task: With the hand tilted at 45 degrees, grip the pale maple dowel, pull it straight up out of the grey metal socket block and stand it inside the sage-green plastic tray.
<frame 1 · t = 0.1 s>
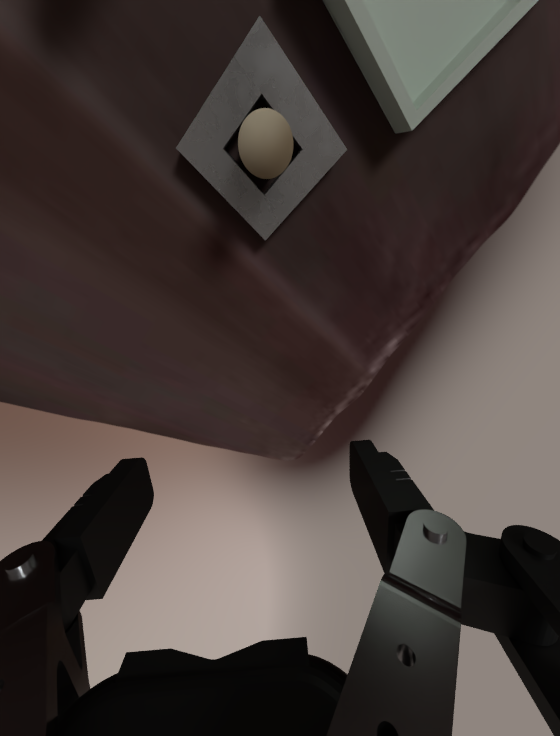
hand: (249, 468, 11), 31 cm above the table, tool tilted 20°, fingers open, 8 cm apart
dowel: (263, 147, 25), in the socket block
socket block: (262, 149, 30), on the table
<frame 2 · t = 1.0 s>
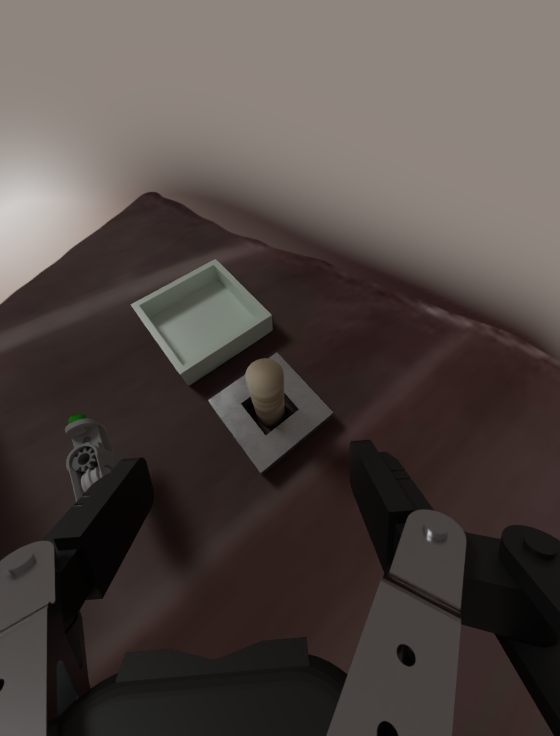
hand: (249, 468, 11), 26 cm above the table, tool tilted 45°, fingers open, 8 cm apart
tray: (206, 325, 47), on the table
mechanical component: (132, 472, 36), on the table
dowel: (268, 396, 34), in the socket block
socket block: (270, 412, 40), on the table
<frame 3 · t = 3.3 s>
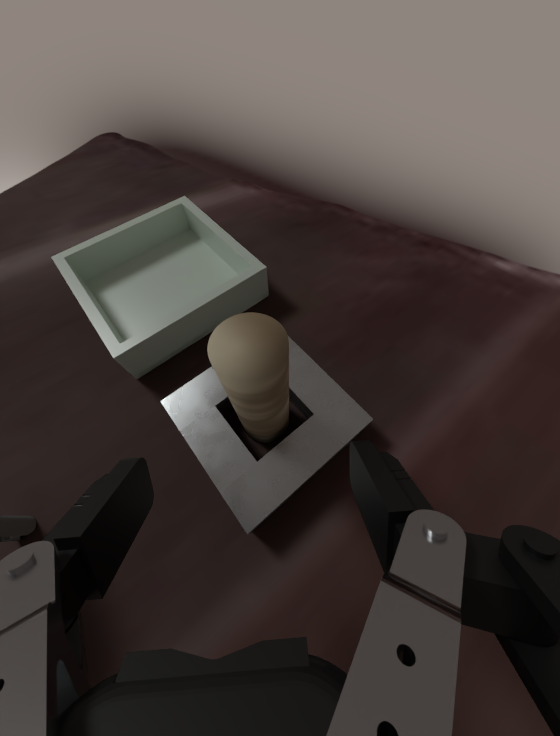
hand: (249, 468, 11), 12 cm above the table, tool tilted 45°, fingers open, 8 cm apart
tray: (170, 290, 32), on the table
mechanical component: (27, 528, 21), on the table
dowel: (259, 392, 19), in the socket block
socket block: (266, 419, 24), on the table
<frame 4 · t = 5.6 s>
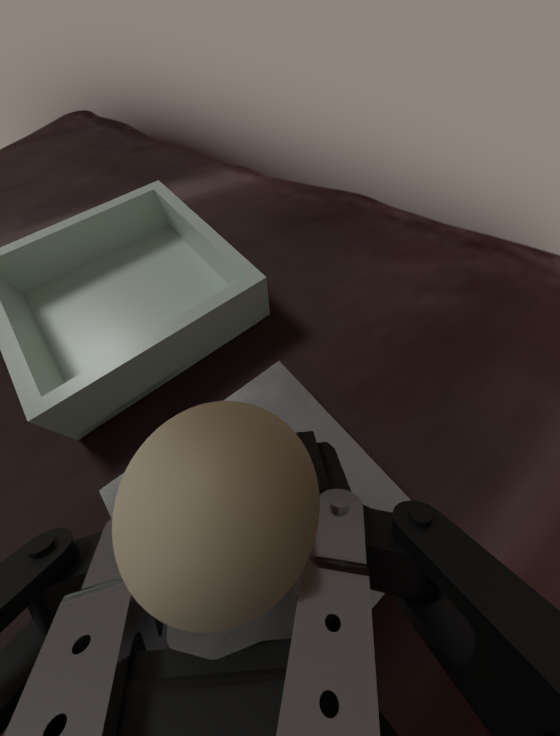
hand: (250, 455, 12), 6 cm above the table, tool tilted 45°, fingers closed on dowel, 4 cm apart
tray: (137, 306, 24), on the table
dowel: (252, 506, 11), in the socket block, touching gripper
socket block: (265, 510, 16), on the table
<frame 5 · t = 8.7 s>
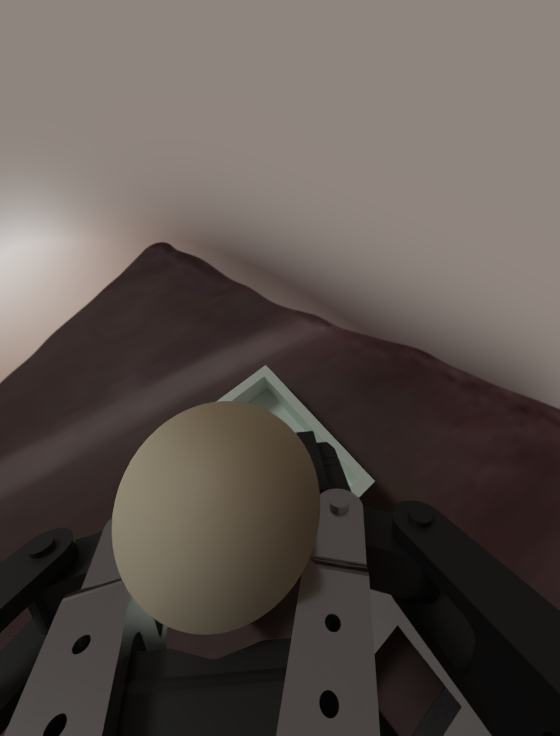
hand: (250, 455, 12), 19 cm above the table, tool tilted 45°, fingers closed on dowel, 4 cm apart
tray: (257, 475, 30), on the table
dowel: (252, 507, 11), point 20 cm above the table, touching gripper
socket block: (392, 679, 22), on the table
when the fingers open (8 cm above the table, at t = 11.7 s): dowel drops 2 cm, resting on tray.
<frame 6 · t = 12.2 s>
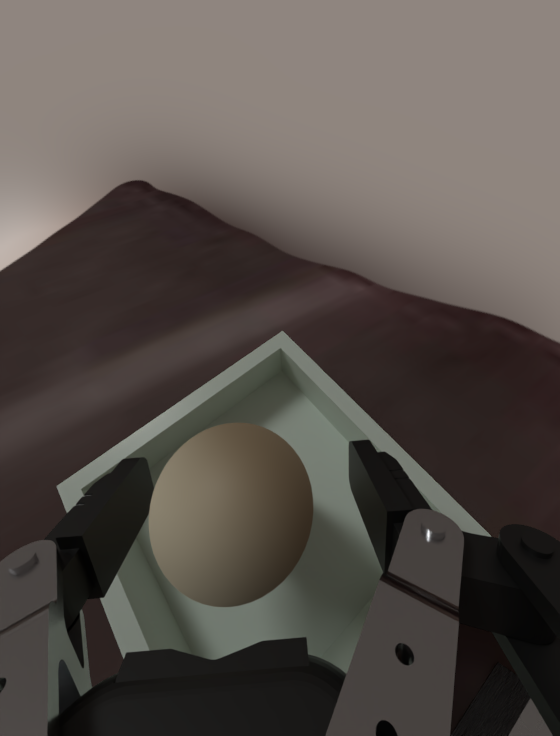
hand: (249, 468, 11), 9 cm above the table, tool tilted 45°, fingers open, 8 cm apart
tray: (266, 511, 18), on the table
dowel: (256, 509, 12), in the tray, point 7 cm above the table
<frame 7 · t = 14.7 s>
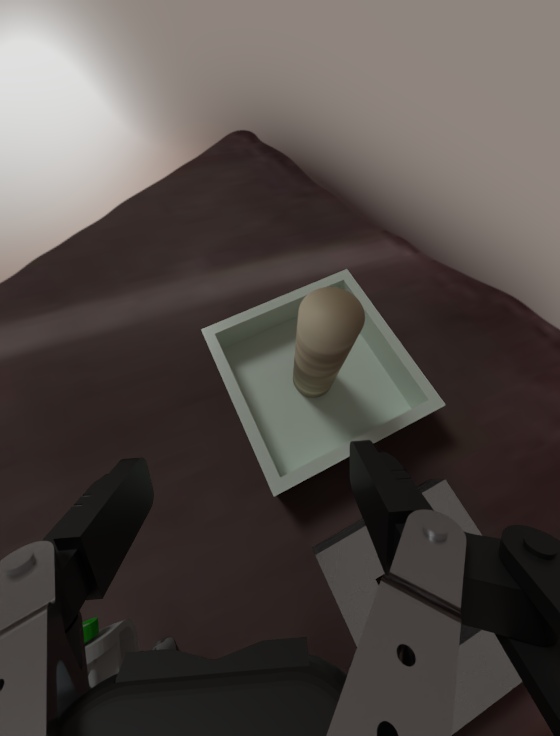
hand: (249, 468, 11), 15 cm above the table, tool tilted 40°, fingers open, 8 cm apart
tray: (311, 379, 29), on the table
mechanical component: (166, 648, 21), on the table
dowel: (319, 354, 22), in the tray, point 7 cm above the table
socket block: (415, 588, 22), on the table
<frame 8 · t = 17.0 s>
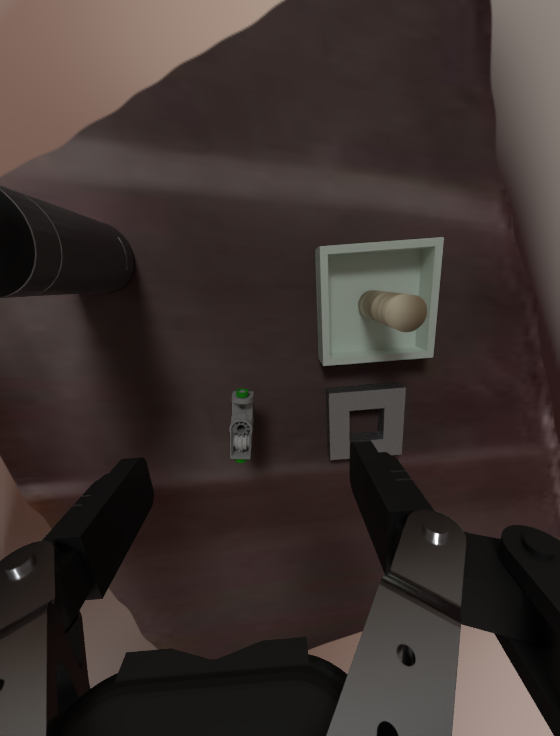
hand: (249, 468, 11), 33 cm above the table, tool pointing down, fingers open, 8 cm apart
tray: (370, 303, 42), on the table
mechanical component: (247, 399, 46), on the table
dowel: (387, 308, 36), in the tray, point 7 cm above the table
socket block: (361, 418, 47), on the table
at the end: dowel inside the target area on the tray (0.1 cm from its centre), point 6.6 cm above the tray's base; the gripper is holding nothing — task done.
